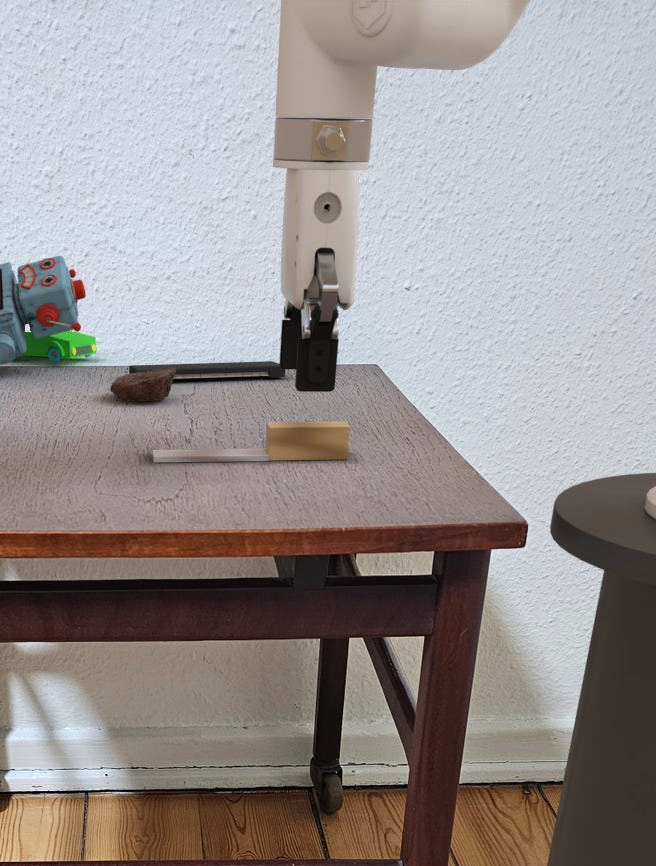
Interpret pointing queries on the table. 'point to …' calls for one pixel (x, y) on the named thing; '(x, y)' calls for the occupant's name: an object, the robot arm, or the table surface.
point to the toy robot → (37, 303)
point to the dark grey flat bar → (217, 369)
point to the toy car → (60, 345)
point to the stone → (144, 385)
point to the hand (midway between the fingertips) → (305, 379)
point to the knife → (277, 445)
